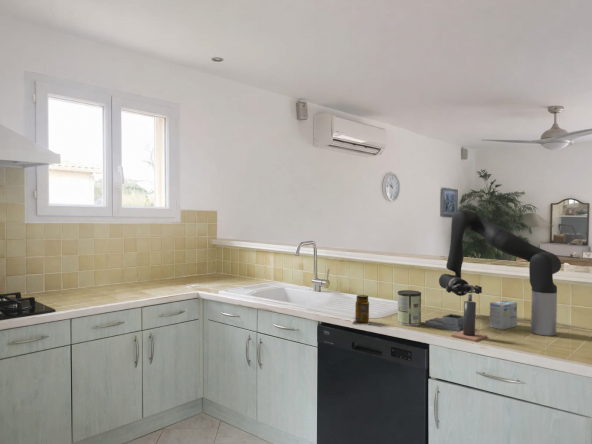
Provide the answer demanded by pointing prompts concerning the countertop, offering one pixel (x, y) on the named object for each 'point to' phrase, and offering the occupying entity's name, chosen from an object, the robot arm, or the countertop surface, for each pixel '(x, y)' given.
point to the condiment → (362, 310)
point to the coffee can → (409, 307)
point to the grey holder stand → (447, 322)
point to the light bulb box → (503, 314)
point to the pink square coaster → (471, 338)
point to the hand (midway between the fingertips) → (467, 291)
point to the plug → (469, 317)
